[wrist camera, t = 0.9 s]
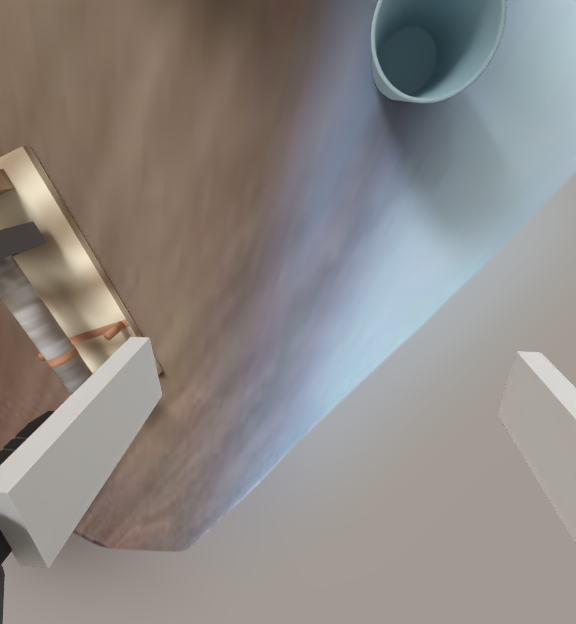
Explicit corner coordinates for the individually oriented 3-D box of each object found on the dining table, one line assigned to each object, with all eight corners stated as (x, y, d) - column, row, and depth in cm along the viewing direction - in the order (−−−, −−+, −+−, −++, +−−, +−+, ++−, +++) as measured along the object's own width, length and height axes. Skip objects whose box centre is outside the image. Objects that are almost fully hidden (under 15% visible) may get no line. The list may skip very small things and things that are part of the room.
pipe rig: (-51, 187, 40) (-130, 196, 33) (29, 146, 37) (-39, 146, 30) (91, 389, 50) (53, 428, 44) (162, 370, 48) (134, 407, 41)
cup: (462, 89, 31) (518, 64, 21) (376, 131, 33) (393, 125, 24) (438, -12, 28) (490, -91, 19) (347, 40, 30) (353, -7, 21)
